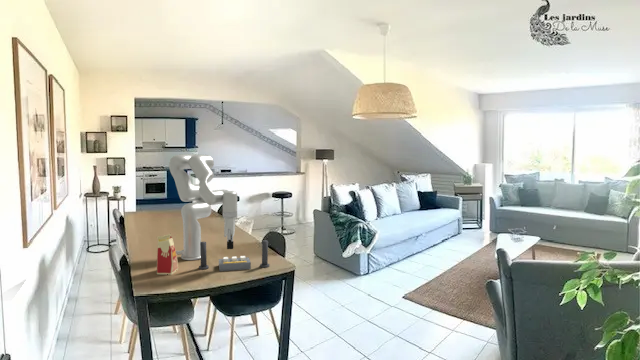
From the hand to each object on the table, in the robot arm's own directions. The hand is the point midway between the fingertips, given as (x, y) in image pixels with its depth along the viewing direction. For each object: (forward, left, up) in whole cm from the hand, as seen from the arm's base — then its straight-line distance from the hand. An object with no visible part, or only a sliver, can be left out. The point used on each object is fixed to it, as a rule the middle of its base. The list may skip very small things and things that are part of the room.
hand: (230, 248), depth 212 cm
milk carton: (-32, -4, -11) cm, 34 cm away
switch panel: (+2, 0, -11) cm, 11 cm away
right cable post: (+18, 0, -10) cm, 21 cm away
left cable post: (-14, 0, -10) cm, 17 cm away
